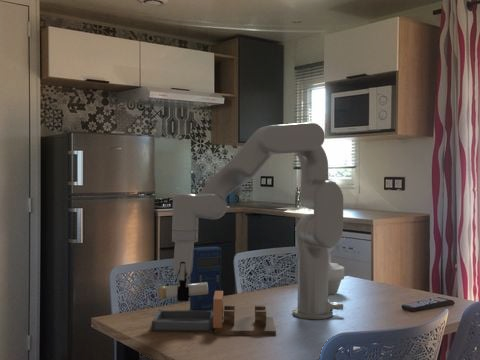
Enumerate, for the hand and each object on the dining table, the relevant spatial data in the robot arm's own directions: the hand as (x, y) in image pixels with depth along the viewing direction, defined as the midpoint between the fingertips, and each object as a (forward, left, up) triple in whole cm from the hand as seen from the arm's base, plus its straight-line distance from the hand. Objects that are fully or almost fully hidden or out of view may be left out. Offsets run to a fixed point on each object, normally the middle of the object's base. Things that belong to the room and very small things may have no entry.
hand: (183, 298), depth 158 cm
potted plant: (-49, -44, -8) cm, 67 cm away
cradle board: (-18, +2, -8) cm, 20 cm away
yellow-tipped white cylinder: (0, 0, +1) cm, 1 cm away
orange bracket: (-10, +2, -6) cm, 12 cm away
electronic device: (-5, -18, -8) cm, 20 cm away
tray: (0, 0, -8) cm, 8 cm away
